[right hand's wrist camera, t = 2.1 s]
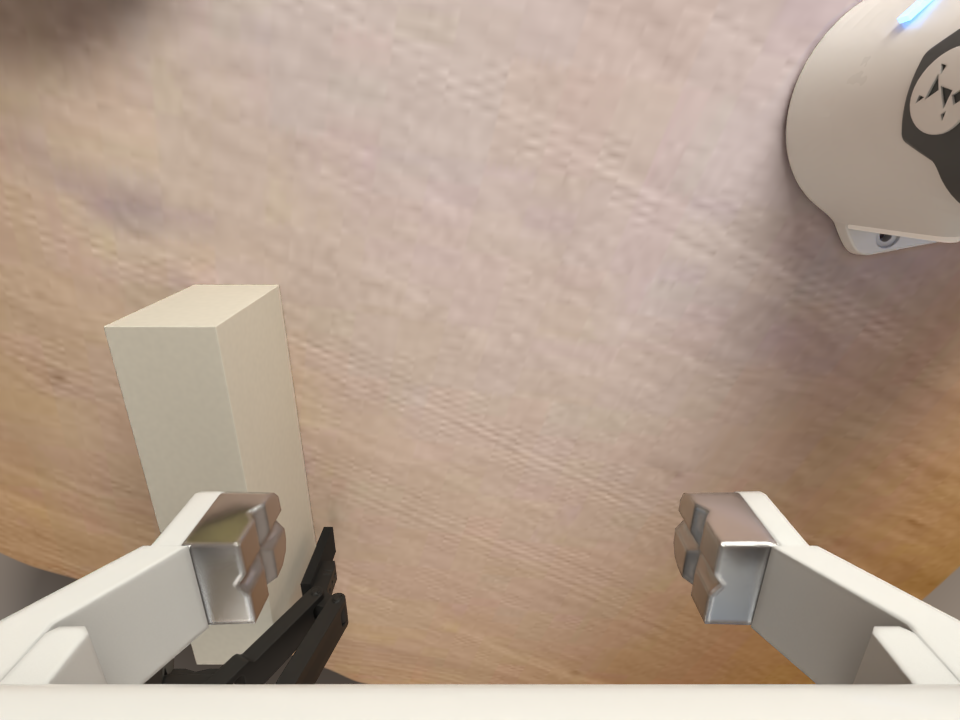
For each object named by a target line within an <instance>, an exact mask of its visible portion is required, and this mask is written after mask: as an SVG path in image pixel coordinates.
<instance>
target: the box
mask: <svg viewBox="0 0 960 720" xmlns="http://www.w3.org/2000/svg"><path fill="white" fill-rule="evenodd" d="M104 330H105V334H106V337H107V341H108V344H109V348H110V352H111V355H112V359H113V363H114V366H115V370H116V373H117V377H118V381H119V384H120V388H121V392H122V395H123V399H124V402H125V406H126V410H127V413H128V417H129V421H130V424H131V428H132V431H133V435H134V439H135V442H136V446H137V450H138V453H139V457H140V460H141V464H142V468H143V471H144V475H145V479H146V482H147V486H148V489H149V493H150V497H151V500H152V504H153V507H154V511H155V515H156V518H157V522H158V526H159V529H160V533H162V532H163V531H164V530H165V528H166V527H167V526H168V525H169V524H170V523H171V521H172V520H173V519H174V518H175V517H176V515H177V514H178V513H179V512H180V511H181V510H182V508H183V507H184V506H185V505H186V504H187V502H188V501H189V500H190V499H191V498H192V497H193V495H194V494H196V493H199V492H202V491H222V492H271V493H275V494H276V495H278V496H279V501H280V506H281V512H280V514H279V516H278V517H277V519H276V520H277V521H278V522H279V523H280V524H281V525H282V526H283V527H284V528H285V534H286V553H285V558H284V563H283V566H282V568H281V571H280V573H279V575H278V577H277V578H276V579H274V580H273V581H271V582H270V583H269V584H267V586H268V592H269V596H268V598H267V600H266V602H265V604H264V607H263V609H262V611H261V613H260V615H259V617H258V619H257V621H256V623H255V624H223V625H209V628H208V629H206V630H205V631H204V632H203V633H202V634H201V635H200V636H198V637H197V638H196V639H195V640H194V641H193V642H191V645H192V649H193V652H194V656H195V660H196V663H197V664H225V663H226V662H227V661H228V660H229V659H230V658H231V657H232V656H233V655H235V654H242V653H244V652H245V651H246V650H247V649H248V648H249V647H250V646H251V645H252V644H253V643H254V642H255V641H256V640H257V639H258V638H259V637H260V636H261V635H262V634H263V633H264V632H265V631H267V630H268V629H269V628H270V627H271V626H272V625H273V624H274V623H275V622H276V621H277V620H278V619H279V618H280V617H281V616H282V615H283V614H284V613H285V612H286V611H287V610H288V609H289V608H291V607H292V606H293V605H294V604H295V603H296V602H297V601H298V600H299V599H300V598H301V597H302V591H301V585H300V584H301V581H302V579H303V576H304V574H305V572H306V569H307V567H308V564H309V562H310V560H311V557H312V555H313V552H314V550H315V548H316V541H315V534H314V527H313V520H312V513H311V506H310V499H309V492H308V484H307V477H306V470H305V463H304V456H303V449H302V442H301V435H300V428H299V421H298V414H297V407H296V400H295V393H294V386H293V379H292V372H291V365H290V358H289V351H288V344H287V337H286V330H285V323H284V316H283V308H282V301H281V294H280V287H279V285H192V286H190V287H188V288H186V289H184V290H182V291H179V292H177V293H175V294H173V295H171V296H169V297H167V298H164V299H162V300H160V301H158V302H156V303H154V304H151V305H149V306H147V307H145V308H143V309H141V310H138V311H136V312H134V313H132V314H130V315H128V316H125V317H123V318H121V319H119V320H117V321H115V322H112V323H110V324H108V325H106V326H104Z"/></svg>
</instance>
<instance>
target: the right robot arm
mask: <svg viewBox="0 0 960 720" xmlns="http://www.w3.org/2000/svg"><path fill="white" fill-rule="evenodd" d="M786 147H787V154H788V160H789V163H790V167H791V170H792V173H793V175H794V177H795V179H796V181H797V183H798V185H799V187H800V188H801V190H802V191H803V192H804V194H805V195H806V196H807V197H808V198H809V200H810V201H812V202H813V203H814V204H815V205H816V206H817V207H818V208H820V209H821V210H822V211H823V212H825V213H826V214H827V215H828V216H829V217H830V218H831V219H832V221H833V222H834V224H835V227H836V230H837V232H838V235H839V237H840V239H841V242H842V244H843V245H844V247H845V248H846V249H847V251H849V252H850V253H852V254H859V255H872V254H878V253H883V252H888V251H894V250H899V249H904V248H910V247H915V246H920V245H926V244H931V243H936V242H945V243H956V242H959V241H960V0H863V1H862V2H860V3H859V4H857V5H856V6H855V7H853V8H852V9H851V10H850V11H848V12H847V13H846V14H845V15H844V16H843V17H842V18H840V19H839V20H838V21H837V22H836V23H835V24H834V25H833V26H832V27H831V29H830V30H829V31H828V32H827V33H826V34H825V35H824V37H823V38H822V39H821V40H820V42H819V43H818V44H817V46H816V47H815V49H814V50H813V52H812V53H811V55H810V56H809V58H808V60H807V62H806V63H805V65H804V67H803V69H802V71H801V73H800V75H799V78H798V80H797V82H796V85H795V88H794V91H793V94H792V97H791V100H790V105H789V109H788V115H787V123H786ZM880 234H885V235H884V236H883V238H882V239H880ZM280 512H281V506H280V501H279V496H278V495H276V494H275V493H271V492H222V491H202V492H199V493H196V494H194V495H193V497H192V498H191V499H190V500H189V501H188V502H187V504H186V505H185V506H184V507H183V508H182V510H181V511H180V512H179V513H178V514H177V515H176V517H175V518H174V519H173V520H172V521H171V523H170V524H169V525H168V526H167V527H166V528H165V530H164V531H163V532H162V533H161V534H160V536H159V537H158V538H157V539H156V540H155V542H154V543H153V544H152V545H151V546H141V547H140V548H138V549H136V550H134V551H132V552H130V553H128V554H126V555H124V556H122V557H121V558H119V559H117V560H115V561H113V562H111V563H109V564H107V565H105V566H103V567H101V568H100V569H98V570H96V571H94V572H92V573H90V574H88V575H86V576H84V577H82V578H81V579H79V580H77V581H75V582H73V583H71V584H69V585H67V586H65V587H63V588H61V589H60V590H58V591H56V592H54V593H52V594H50V595H48V596H46V597H44V598H42V599H41V600H39V601H37V602H35V603H33V604H31V605H29V606H27V607H25V608H23V609H21V610H20V611H18V612H16V613H14V614H12V615H10V616H8V617H6V618H4V619H2V620H1V621H0V720H960V621H959V620H957V619H955V618H953V617H951V616H950V615H948V614H946V613H944V612H942V611H940V610H938V609H936V608H934V607H932V606H931V605H929V604H927V603H925V602H923V601H921V600H919V599H917V598H915V597H913V596H912V595H910V594H908V593H906V592H904V591H902V590H900V589H898V588H896V587H895V586H893V585H891V584H889V583H887V582H885V581H883V580H881V579H879V578H877V577H876V576H874V575H872V574H870V573H868V572H866V571H864V570H862V569H860V568H858V567H857V566H855V565H853V564H851V563H849V562H847V561H845V560H843V559H841V558H839V557H838V556H836V555H834V554H832V553H830V552H828V551H826V550H824V549H822V548H820V547H819V546H809V545H808V544H807V543H806V542H805V540H804V539H803V538H802V537H801V536H800V534H799V533H798V532H797V531H796V530H795V529H794V527H793V526H792V525H791V524H790V523H789V521H788V520H787V519H786V518H785V517H784V516H783V514H782V513H781V512H780V511H779V510H778V508H777V507H776V506H775V505H774V504H773V503H772V501H771V500H770V499H769V498H768V497H767V495H766V494H764V493H762V492H760V491H747V492H734V493H684V494H683V496H682V498H681V500H680V505H679V512H680V514H681V516H682V517H683V519H684V520H683V521H682V522H681V523H680V524H679V525H678V526H677V527H676V528H675V535H674V553H675V559H676V562H677V566H678V569H679V571H680V573H681V575H682V577H683V578H684V579H686V580H687V581H689V582H690V583H691V584H693V586H692V592H691V596H692V598H693V600H694V602H695V604H696V606H697V609H698V611H699V613H700V615H701V617H702V619H703V621H704V623H705V624H736V625H751V628H753V629H754V630H755V631H756V632H757V633H758V634H760V635H761V636H762V637H763V638H764V639H765V640H766V641H768V642H769V643H770V644H771V645H772V646H773V647H775V648H776V649H777V650H778V651H779V652H780V653H782V654H783V655H784V656H785V657H786V658H787V659H788V660H790V661H791V662H792V663H793V664H794V665H795V666H797V667H798V668H799V669H800V670H801V671H802V672H803V673H805V674H806V675H807V676H808V677H809V678H810V679H812V680H813V681H814V682H815V683H816V684H144V683H145V682H146V681H147V680H149V679H150V678H151V677H152V676H153V675H154V674H156V673H157V672H158V671H159V670H160V669H161V668H162V667H164V666H165V665H166V664H167V663H168V662H169V661H171V660H172V659H173V658H174V657H175V656H176V655H178V654H179V653H180V652H181V651H182V650H183V649H184V648H186V647H187V646H188V645H189V644H190V643H191V642H193V641H194V640H195V639H196V638H197V637H198V636H200V635H201V634H202V633H203V632H204V631H205V630H206V629H208V628H209V625H223V624H255V623H256V621H257V619H258V617H259V615H260V613H261V611H262V609H263V607H264V604H265V602H266V600H267V598H268V596H269V592H268V586H267V584H269V583H270V582H271V581H273V580H274V579H276V578H277V577H278V575H279V573H280V571H281V568H282V566H283V563H284V558H285V553H286V534H285V528H284V527H283V526H282V525H281V524H280V523H279V522H278V521H277V520H276V519H277V517H278V516H279V514H280Z"/></svg>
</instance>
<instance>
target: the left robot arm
mask: <svg viewBox="0 0 960 720" xmlns="http://www.w3.org/2000/svg"><path fill="white" fill-rule="evenodd" d="M335 552H336V550H335V542H334V534H333V527H324V528H323V531H322V533H321V536H320V538H319V540H318V543H317V545H316V548H315V550H314V552H313V555H312V557H311V560H310V562H309V564H308V567H307V569H306V572H305V574H304V576H303V579H302V581H301V584H300V585H301V591H302V597H301V598H300V599H299V600H298V601H297V602H296V603H295V604H294V605H293V606H292V607H291V608H289V609H288V610H287V611H286V612H285V613H284V614H283V615H282V616H281V617H280V618H279V619H278V620H277V621H276V622H275V623H274V624H273V625H272V626H271V627H270V628H269V629H268V630H267V631H265V632H264V633H263V634H262V635H261V636H260V637H259V638H258V639H257V640H256V641H255V642H254V643H253V644H252V645H251V646H250V647H249V648H248V649H247V650H246V651H245V652H244V653H242V654H235V655H233V656H232V657H231V658H230V659H229V660H228V661H227V662H226V663H225V664H224V665H223V666H222V667H221V668H220V669H207V670H202V671H198V672H194V671H191V670H187V669H174V658H173V659H172V660H171V661H169V662H168V663H167V664H166V665H165V666H164V667H162V668H161V669H160V670H159V671H158V672H157V673H156V674H154V675H153V676H152V677H151V678H150V679H149V680H147V681H146V682H145V683H144V684H233V683H235V684H264V683H265V682H266V681H267V680H268V679H269V678H270V677H271V676H272V675H273V674H274V673H275V672H276V671H277V670H278V669H279V668H280V666H281V665H282V664H283V663H284V662H285V661H286V660H287V659H288V658H289V657H290V656H291V655H292V654H293V653H294V652H295V651H296V652H295V653H294V655H293V656H292V658H291V660H290V661H289V663H288V664H287V666H286V667H285V669H284V671H283V672H282V674H281V675H280V677H279V679H278V680H277V682H276V684H315V682H316V681H317V679H318V677H319V675H320V673H321V672H322V670H323V668H324V666H325V665H326V663H327V661H328V659H329V657H330V656H331V654H332V652H333V650H334V648H335V647H336V645H337V643H338V641H339V639H340V638H341V636H342V634H343V632H344V631H345V629H346V627H347V625H348V615H347V607H346V599H345V595H344V594H342V593H336V594H333V595H332V592H333V589H334V586H335V583H336V580H337V575H336V567H335V561H333V558H334V555H335Z"/></svg>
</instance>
